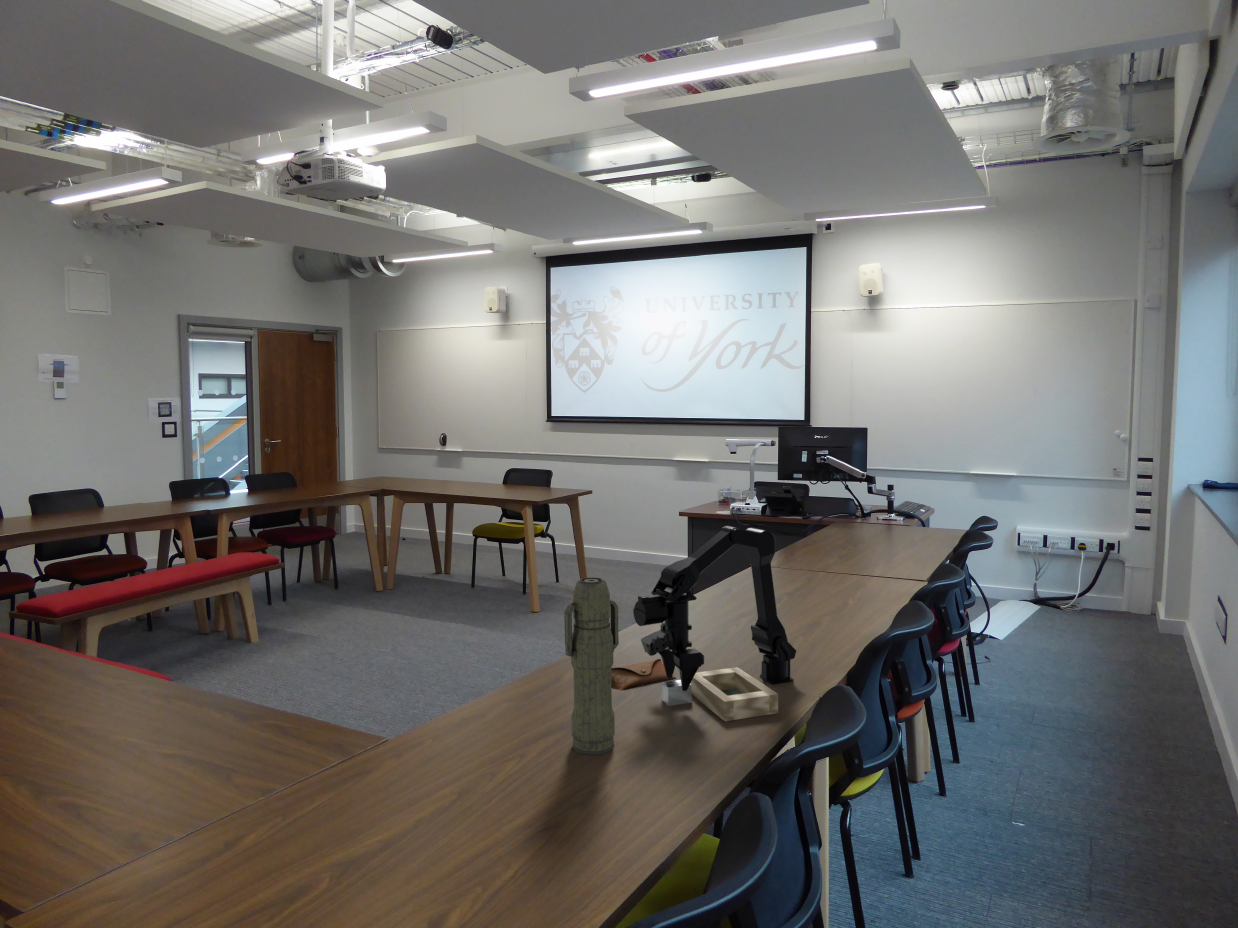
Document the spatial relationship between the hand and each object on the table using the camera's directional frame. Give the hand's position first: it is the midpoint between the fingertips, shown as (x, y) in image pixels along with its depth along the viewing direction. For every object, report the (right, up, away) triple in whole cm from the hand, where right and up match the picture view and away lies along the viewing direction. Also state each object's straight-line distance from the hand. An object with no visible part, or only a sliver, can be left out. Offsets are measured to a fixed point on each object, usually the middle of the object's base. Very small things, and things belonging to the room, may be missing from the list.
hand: (676, 684), depth 190 cm
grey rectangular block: (0, -4, 0) cm, 4 cm away
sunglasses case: (-8, -4, +15) cm, 18 cm away
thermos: (-19, -6, -24) cm, 31 cm away
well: (+13, -4, -1) cm, 14 cm away
